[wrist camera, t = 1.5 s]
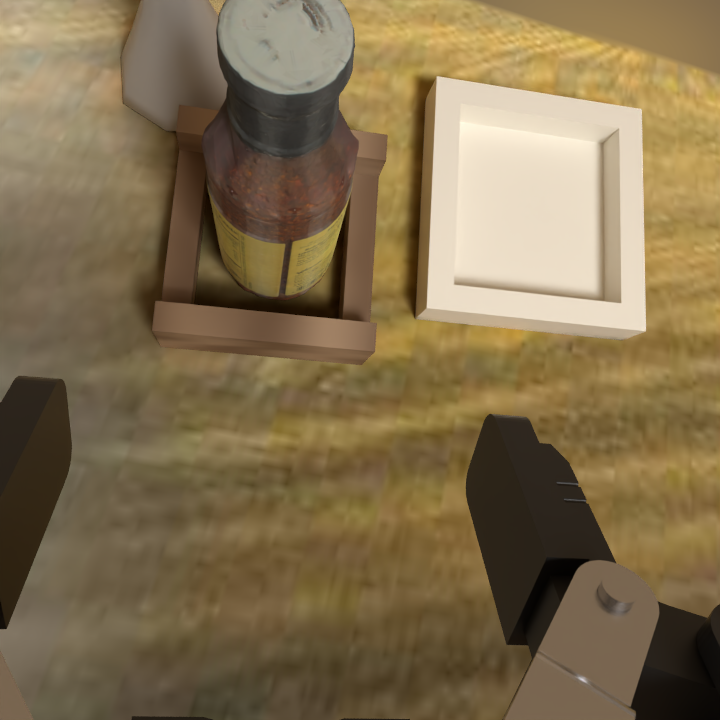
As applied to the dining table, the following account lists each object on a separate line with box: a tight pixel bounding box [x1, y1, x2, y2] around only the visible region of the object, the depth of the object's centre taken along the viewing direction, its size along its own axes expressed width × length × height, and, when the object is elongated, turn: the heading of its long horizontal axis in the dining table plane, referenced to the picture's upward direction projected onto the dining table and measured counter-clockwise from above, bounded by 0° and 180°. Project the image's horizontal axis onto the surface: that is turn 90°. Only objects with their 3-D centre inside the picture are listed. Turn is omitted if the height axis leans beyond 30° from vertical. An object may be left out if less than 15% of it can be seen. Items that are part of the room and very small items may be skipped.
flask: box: [121, 0, 228, 131], centre depth 35 cm, size 7×7×10 cm
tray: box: [415, 76, 646, 340], centre depth 41 cm, size 13×14×2 cm
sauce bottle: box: [201, 0, 359, 300], centre depth 29 cm, size 6×6×20 cm
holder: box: [152, 105, 387, 365], centre depth 37 cm, size 11×12×4 cm
